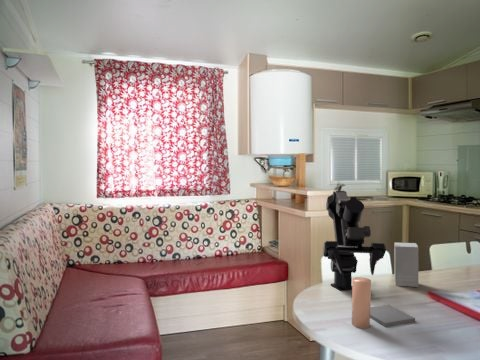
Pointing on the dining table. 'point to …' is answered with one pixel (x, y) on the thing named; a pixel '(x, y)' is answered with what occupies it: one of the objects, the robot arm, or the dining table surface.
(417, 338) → the dining table surface
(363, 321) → the terracotta cylinder
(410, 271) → the skincare box
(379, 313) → the mat
